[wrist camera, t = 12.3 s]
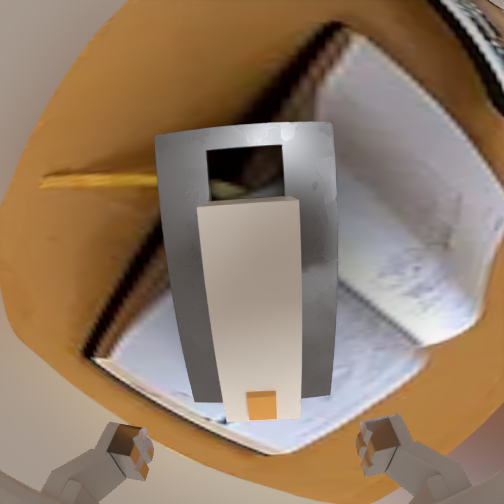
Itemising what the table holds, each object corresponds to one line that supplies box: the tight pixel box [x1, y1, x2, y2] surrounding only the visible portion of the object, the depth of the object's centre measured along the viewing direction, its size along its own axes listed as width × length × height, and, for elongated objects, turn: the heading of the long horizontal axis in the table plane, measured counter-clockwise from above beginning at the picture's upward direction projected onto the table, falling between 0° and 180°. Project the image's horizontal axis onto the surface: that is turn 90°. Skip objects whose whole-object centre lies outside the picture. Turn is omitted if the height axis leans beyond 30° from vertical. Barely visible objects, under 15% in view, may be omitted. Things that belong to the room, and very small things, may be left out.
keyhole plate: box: [154, 122, 338, 402], centre depth 23 cm, size 22×12×4 cm, turn 4°
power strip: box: [197, 196, 302, 422], centre depth 21 cm, size 16×6×8 cm, turn 4°
